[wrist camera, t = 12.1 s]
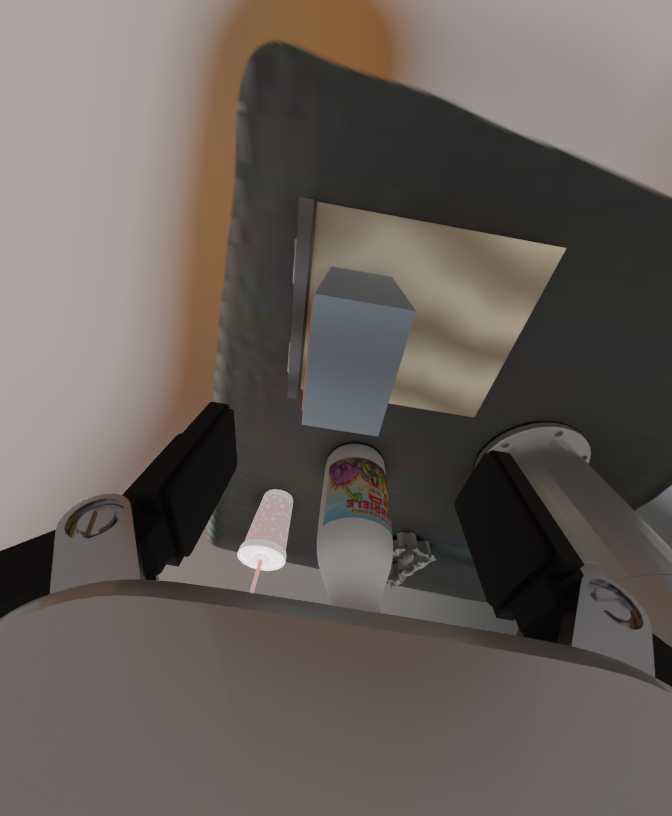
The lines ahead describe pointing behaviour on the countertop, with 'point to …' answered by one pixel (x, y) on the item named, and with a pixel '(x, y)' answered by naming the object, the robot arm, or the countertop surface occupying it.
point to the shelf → (425, 297)
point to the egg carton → (408, 557)
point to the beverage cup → (268, 534)
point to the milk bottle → (355, 528)
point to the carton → (354, 350)
